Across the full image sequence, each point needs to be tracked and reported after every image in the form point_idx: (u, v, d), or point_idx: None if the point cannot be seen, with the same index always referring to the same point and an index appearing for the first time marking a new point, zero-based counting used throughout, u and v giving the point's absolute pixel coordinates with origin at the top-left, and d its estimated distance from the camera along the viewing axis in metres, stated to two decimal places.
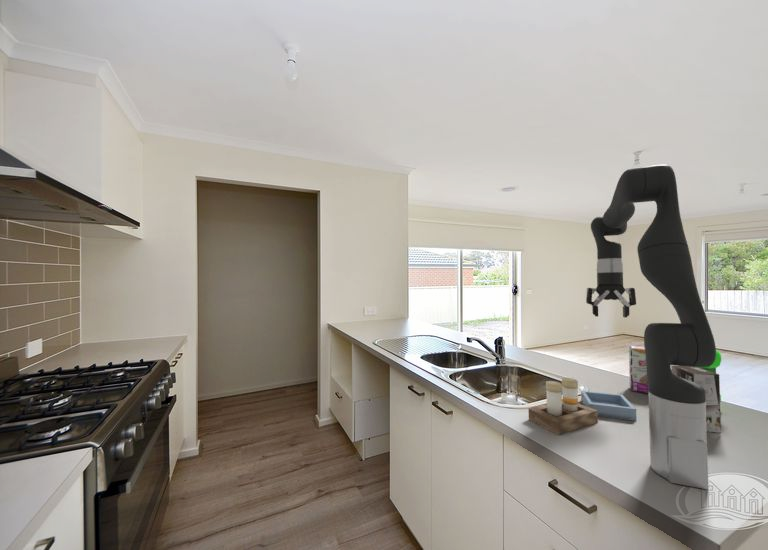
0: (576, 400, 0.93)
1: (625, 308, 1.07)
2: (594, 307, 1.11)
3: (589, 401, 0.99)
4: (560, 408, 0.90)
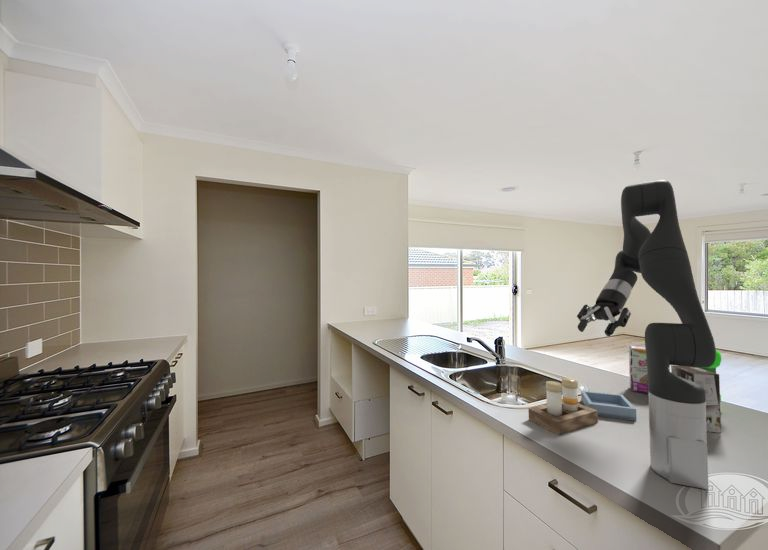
0: (576, 400, 0.93)
1: (609, 324, 0.96)
2: (581, 321, 1.05)
3: (589, 401, 0.99)
4: (560, 408, 0.90)
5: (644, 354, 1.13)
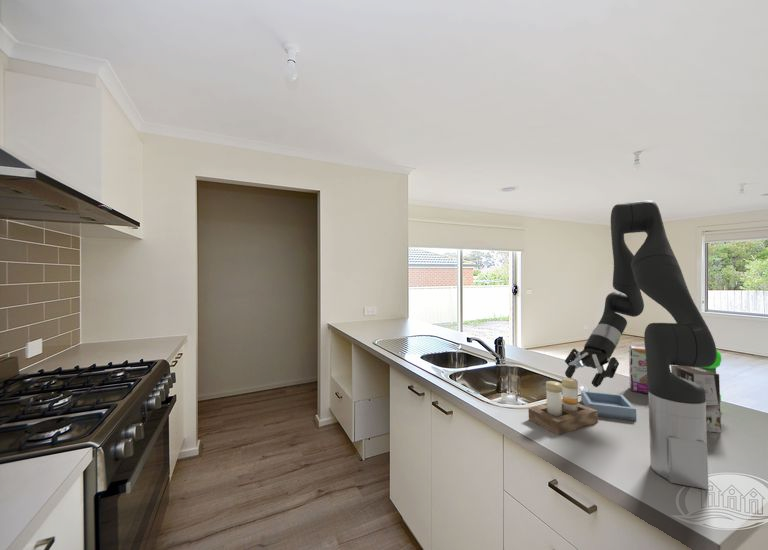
0: (576, 400, 0.93)
1: (596, 374, 0.93)
2: (569, 367, 1.02)
3: (589, 401, 0.99)
4: (560, 408, 0.90)
5: (644, 354, 1.13)
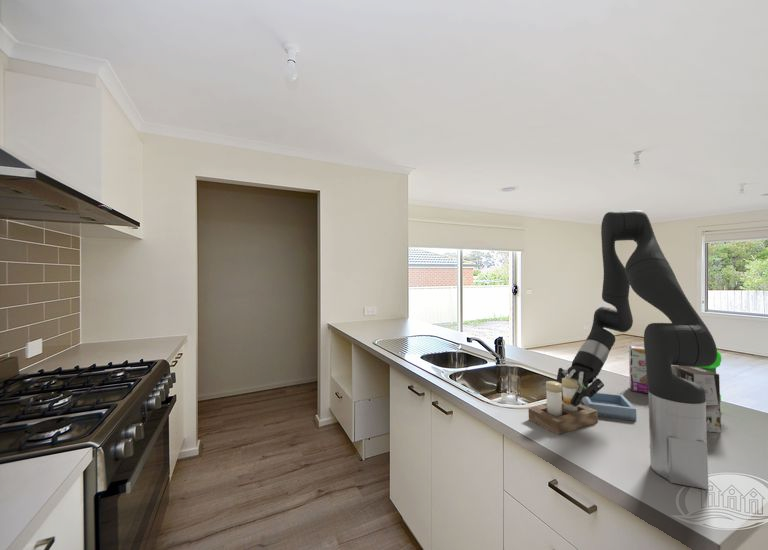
0: None
1: (575, 394, 0.92)
2: None
3: (589, 401, 0.99)
4: (560, 408, 0.90)
5: (644, 354, 1.13)
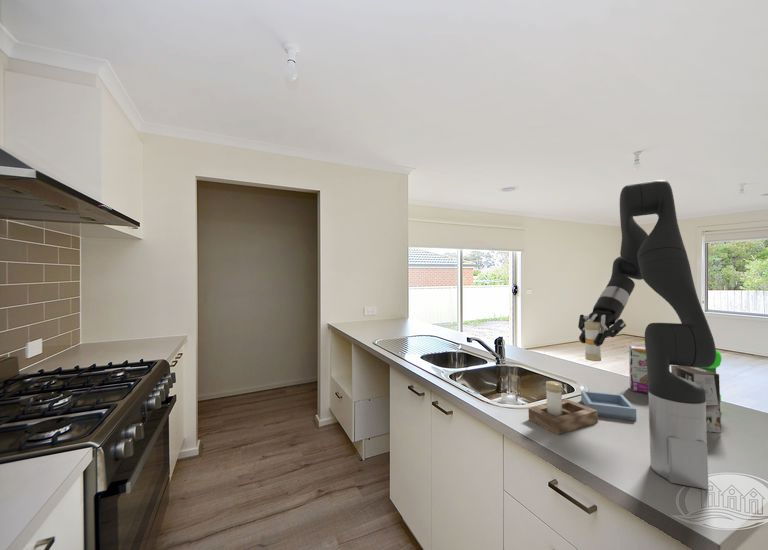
0: None
1: (598, 334, 0.97)
2: (582, 332, 1.02)
3: (589, 401, 0.99)
4: (560, 408, 0.90)
5: (644, 354, 1.13)
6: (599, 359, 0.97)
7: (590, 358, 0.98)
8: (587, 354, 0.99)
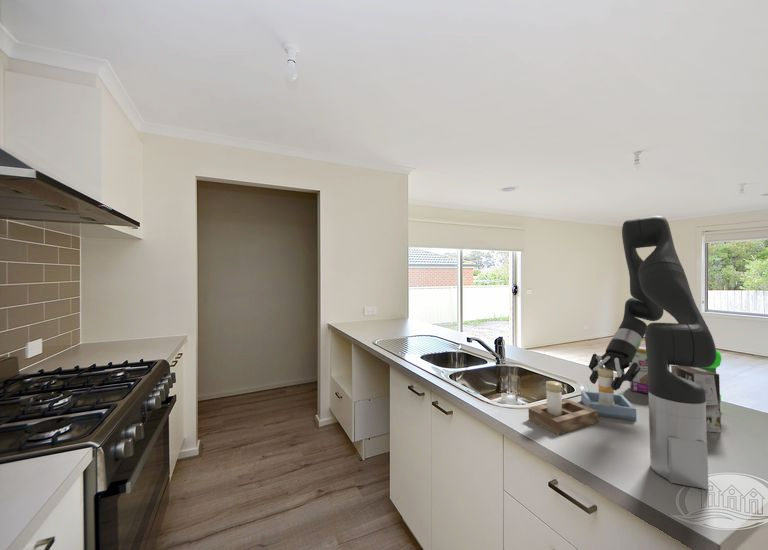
0: None
1: (615, 378, 0.97)
2: (593, 372, 1.04)
3: (589, 401, 0.99)
4: (560, 408, 0.90)
5: (644, 354, 1.13)
6: None
7: None
8: (600, 401, 1.00)
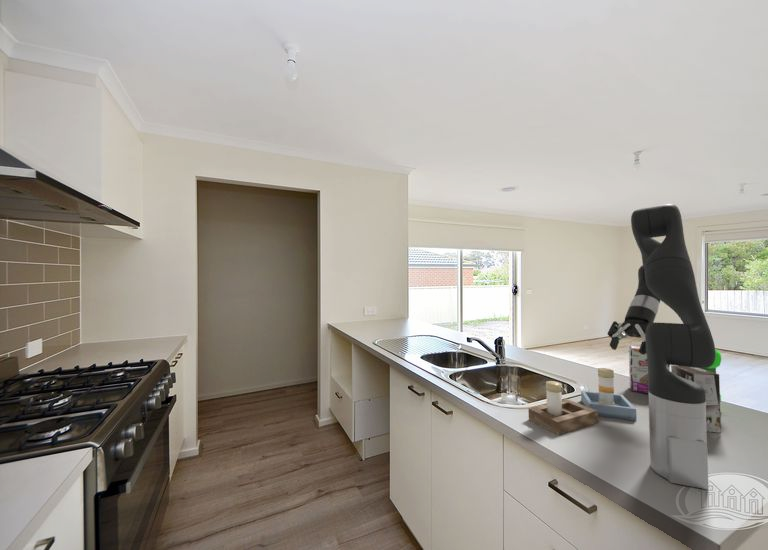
0: (612, 389, 0.99)
1: (642, 343, 0.99)
2: (612, 339, 1.07)
3: (589, 401, 0.99)
4: (560, 408, 0.90)
5: None
6: None
7: None
8: (600, 401, 1.00)
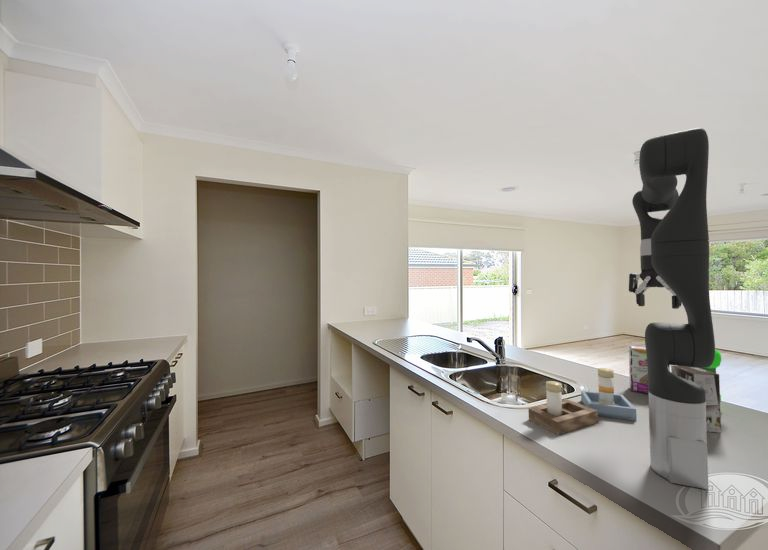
0: (612, 389, 0.99)
1: (672, 297, 0.89)
2: (637, 295, 0.97)
3: (589, 401, 0.99)
4: (560, 408, 0.90)
5: (644, 354, 1.13)
6: None
7: None
8: (600, 401, 1.00)
